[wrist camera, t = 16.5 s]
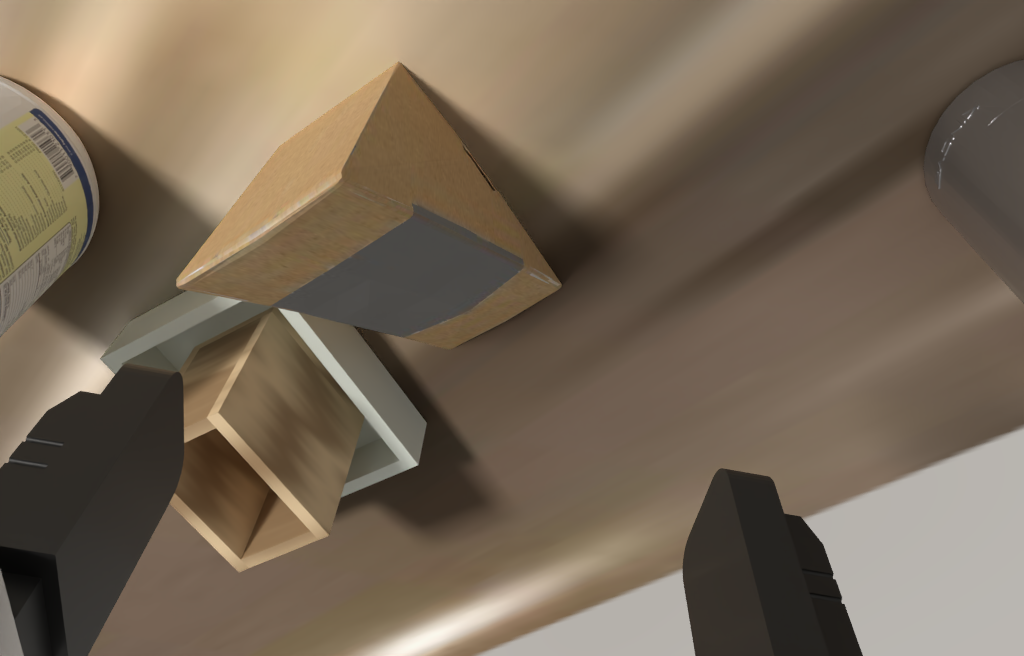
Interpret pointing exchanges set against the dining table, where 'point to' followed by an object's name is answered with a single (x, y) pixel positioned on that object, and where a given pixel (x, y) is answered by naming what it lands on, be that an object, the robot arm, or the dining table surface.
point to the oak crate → (262, 441)
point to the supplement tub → (39, 199)
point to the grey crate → (339, 347)
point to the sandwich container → (377, 227)
